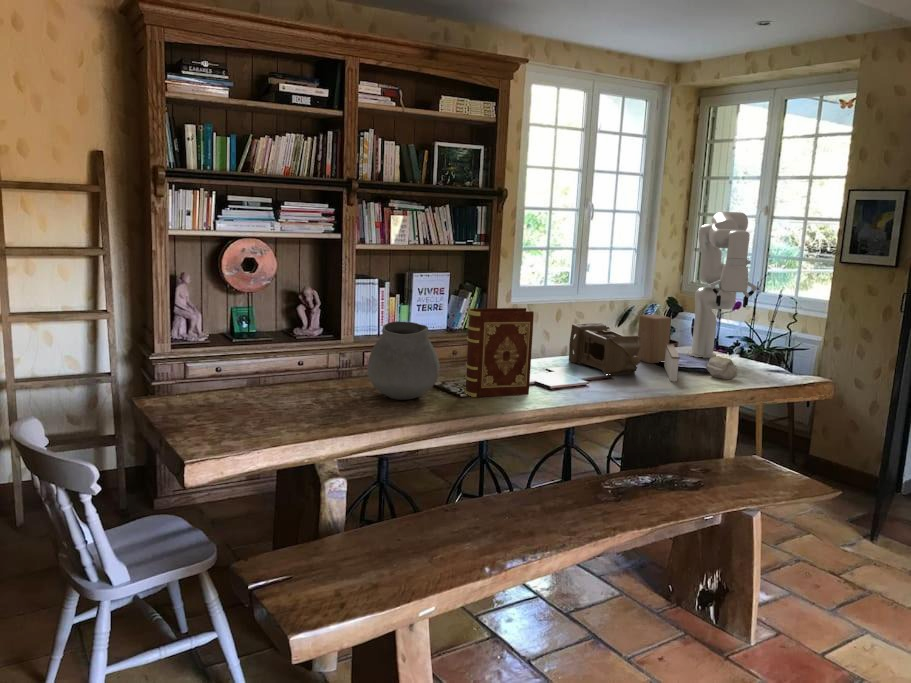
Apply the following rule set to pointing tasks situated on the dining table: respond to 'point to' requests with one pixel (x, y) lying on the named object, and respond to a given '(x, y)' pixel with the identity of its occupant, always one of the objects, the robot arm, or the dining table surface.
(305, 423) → the dining table surface
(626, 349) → the brown machine part
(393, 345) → the ceramic pot
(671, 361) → the grey board
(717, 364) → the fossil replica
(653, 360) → the wooden block
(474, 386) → the decorative book
